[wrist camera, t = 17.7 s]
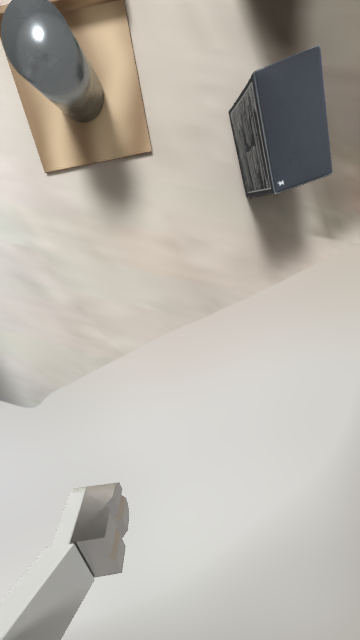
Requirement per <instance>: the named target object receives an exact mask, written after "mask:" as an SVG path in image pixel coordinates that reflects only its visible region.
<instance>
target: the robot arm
mask: <svg viewBox="0 0 360 640" xmlns="http://www.w3.org/2000/svg"><path fill="white" fill-rule="evenodd" d="M121 492H122V487H121V485H120V483H112V484H104V485H96V486H88V487H81V488H74V489H73V490H72V492H71V493H70V495H69V498H68V501H67V503H66V506H65V509H64V512H63V515H62V518H61V520H60V523H59V526H58V529H57V532H56V535H55V537H54V541H53V543H52V546H50V547H46V549H45V550H44V551H43V552H42V554H41V555H40V556H39V557H38V558H37V559H36V560H35V562H34V563H33V564H32V565H31V566H30V568H29V569H28V570H27V571H26V572H25V574H24V575H23V576H22V577H21V578H20V580H19V581H18V582H17V583H16V585H15V586H14V587H13V588H12V589H11V590H10V592H9V593H8V594H7V595H6V596H5V597H4V599H3V600H2V601H1V602H0V640H61V638H62V636H63V635H64V633H65V631H66V629H67V628H68V626H69V624H70V622H71V621H72V619H73V617H74V615H75V613H76V612H77V610H78V608H79V606H80V605H81V603H82V601H83V599H84V598H85V596H86V594H87V592H88V591H89V589H90V587H91V585H92V583H93V582H94V577H99V576H106V575H112V574H117V573H122V568H123V561H124V553H125V544H124V542H123V540H122V538H123V536H124V535H125V533H126V532H127V530H128V522H129V508H128V503H127V500H126V498H125V497H124V496H122V495H121Z"/></svg>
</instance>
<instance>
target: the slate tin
mask: <svg viewBox="0 0 360 640" xmlns="http://www.w3.org/2000/svg"><path fill="white" fill-rule="evenodd" d="M1 37H2V43H3V47H4V50H5V53H6V55H7V57H8V59H9V61H10V63H11V64H12V66H13V67H14V68H15V70H16V71H17V72H18V73H19V74H20V75H21V76H22V77H23V78H24V79H26V80H27V81H28V82H29V83H30V84H31V85H33V86H34V87H35V88H36V89H37V90H38V91H40V92H41V93H42V94H43V95H44V96H45V97H46V98H48V99H49V100H50V101H51V102H52V103H53V104H55V105H56V106H57V107H58V108H59V109H60V110H62V111H63V112H64V113H65V114H66V115H67V116H69V117H70V118H71V119H73V120H75V121H77V122H82V123H85V122H90V121H92V120H94V119H95V118H96V117H97V116H98V115H99V114H100V112H101V110H102V107H103V103H104V92H103V88H102V85H101V82H100V80H99V78H98V77H97V75H96V73H95V71H94V70H93V68H92V66H91V64H90V63H89V61H88V59H87V57H86V56H85V54H84V52H83V50H82V49H81V47H80V45H79V43H78V42H77V40H76V38H75V36H74V35H73V33H72V31H71V29H70V28H69V26H68V24H67V22H66V21H65V19H64V17H63V16H62V14H61V13H60V11H59V10H58V9H57V8H56V7H55V6H54V5H53V4H52V3H51V2H50V1H48V0H12V1H11V2H10V3H9V5H8V6H7V8H6V9H5V12H4V14H3V18H2V24H1Z"/></svg>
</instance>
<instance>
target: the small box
mask: <svg viewBox="0 0 360 640" xmlns="http://www.w3.org/2000/svg"><path fill="white" fill-rule="evenodd" d="M229 115H230V121H231V125H232V130H233V135H234V140H235V144H236V149H237V154H238V159H239V163H240V168H241V173H242V178H243V182H244V186H245V191H246V196H247V198H249V199H250V198H252V197H259V196H265V195H272V194H279V193H281V192H284V191H287V190H290V189H292V188H295V187H298V186H301V185H303V184H306V183H309V182H312V181H315V180H317V179H320V178H323V177H326V176H328V175H331V174H332V163H331V152H330V143H329V133H328V123H327V113H326V102H325V92H324V82H323V71H322V61H321V50H320V46H317V47H314V48H311V49H308V50H305V51H303V52H301V53H298V54H295V55H293V56H290V57H288V58H285V59H283V60H281V61H278V62H275V63H273V64H271V65H268V66H266V67H264V68H261V69H258V70H256V71H254V72H253V74H252V76H251V78H250V80H249V82H248V83H247V85H246V86H245V88H244V90H243V91H242V93H241V94H240V96H239V97H238V99H237V100H236V102H235V103H234V105H233V106H232V108H231V109H230V110H229Z"/></svg>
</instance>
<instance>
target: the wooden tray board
mask: <svg viewBox="0 0 360 640" xmlns="http://www.w3.org/2000/svg"><path fill="white" fill-rule="evenodd" d="M48 1H50V2H51V3H52V4H53V5H54V6H55V7H56V8H57V9H58V10H59V11H60V13H61V14H62V16H63V17H64V19H65V21H66V22H67V24H68V26H69V28H70V29H71V31H72V33H73V35H74V36H75V38H76V40H77V42H78V43H79V45H80V47H81V49H82V50H83V52H84V54H85V56H86V57H87V59H88V61H89V63H90V64H91V66H92V68H93V70H94V71H95V73H96V75H97V77H98V78H99V80H100V82H101V85H102V88H103V92H104V103H103V107H102V110H101V112H100V114H99V115H98V116H97V117H96V118H95V119H94V120H92V121H90V122H85V123H82V122H77V121H75V120H73V119H71V118H70V117H69V116H67V115H66V114H65V113H64V112H63V111H62V110H60V109H59V108H58V107H57V106H56V105H55V104H53V103H52V102H51V101H50V100H49V99H48V98H46V97H45V96H44V95H43V94H42V93H41V92H40V91H38V90H37V89H36V88H35V87H34V86H33V85H31V84H30V83H29V82H28V81H27V80H26V79H24V78H23V77H22V76H21V75H20V74H19V73H18V72H17V71H16V70H15V68H14V67H13V66H12V64H11V63H10V61H9V59H8V57H7V55H6V57H7V60H8V63H9V66H10V69H11V72H12V75H13V78H14V81H15V84H16V87H17V90H18V93H19V96H20V99H21V102H22V105H23V108H24V111H25V114H26V117H27V120H28V123H29V126H30V129H31V132H32V135H33V138H34V141H35V144H36V147H37V150H38V153H39V156H40V159H41V162H42V165H43V168H44V171H45V173H47V172H52V171H57V170H62V169H67V168H72V167H77V166H82V165H87V164H92V163H97V162H102V161H107V160H112V159H117V158H122V157H127V156H132V155H137V154H142V153H147V152H152V149H151V144H150V139H149V133H148V128H147V123H146V117H145V112H144V107H143V101H142V96H141V90H140V85H139V80H138V74H137V69H136V64H135V58H134V53H133V47H132V42H131V37H130V31H129V26H128V21H127V15H126V10H125V4H124V0H48ZM8 5H9V4H7V5H3V6H0V38H1V41H2V37H1V24H2V18H3V14H4V12H5V9H6V8H7V6H8ZM2 44H3V43H2ZM5 54H6V53H5Z"/></svg>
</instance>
